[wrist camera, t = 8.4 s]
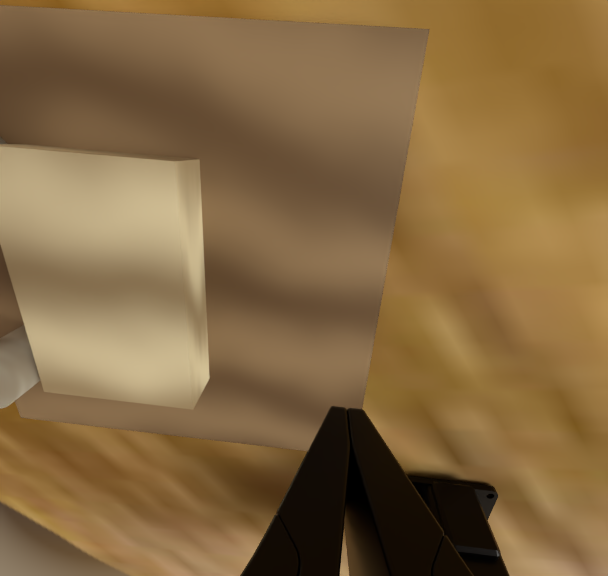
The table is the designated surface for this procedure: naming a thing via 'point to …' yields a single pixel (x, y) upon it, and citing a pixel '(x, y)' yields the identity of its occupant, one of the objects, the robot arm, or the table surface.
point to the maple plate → (108, 271)
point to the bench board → (233, 195)
